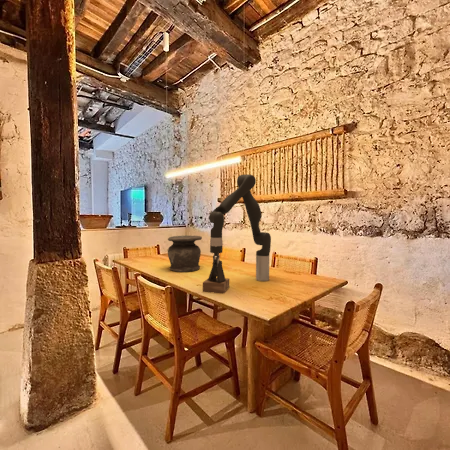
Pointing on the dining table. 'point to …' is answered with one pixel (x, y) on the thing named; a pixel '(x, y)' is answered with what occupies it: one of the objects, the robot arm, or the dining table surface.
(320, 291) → the dining table surface
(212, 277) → the phone stand
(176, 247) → the clay pot
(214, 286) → the walnut block
